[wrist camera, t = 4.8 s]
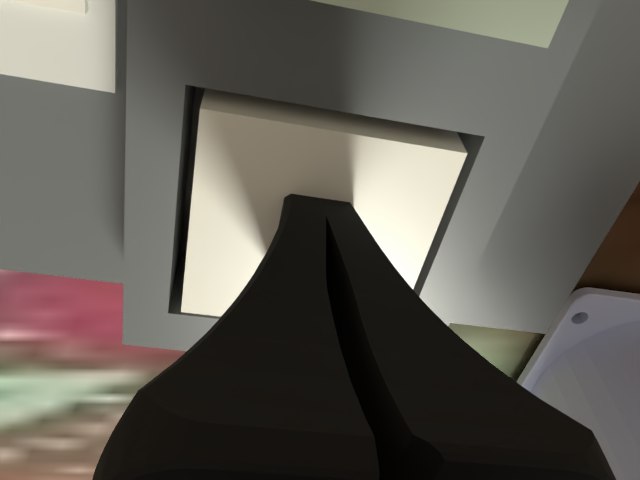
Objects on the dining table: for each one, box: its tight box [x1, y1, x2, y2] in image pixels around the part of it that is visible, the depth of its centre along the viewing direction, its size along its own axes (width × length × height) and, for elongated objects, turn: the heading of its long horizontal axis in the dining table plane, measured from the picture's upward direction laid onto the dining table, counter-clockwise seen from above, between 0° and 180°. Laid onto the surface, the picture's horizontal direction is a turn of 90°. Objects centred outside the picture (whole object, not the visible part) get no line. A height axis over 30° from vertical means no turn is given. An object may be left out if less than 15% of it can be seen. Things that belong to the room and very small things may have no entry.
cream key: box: [181, 88, 467, 317], centre depth 13 cm, size 5×5×2 cm
